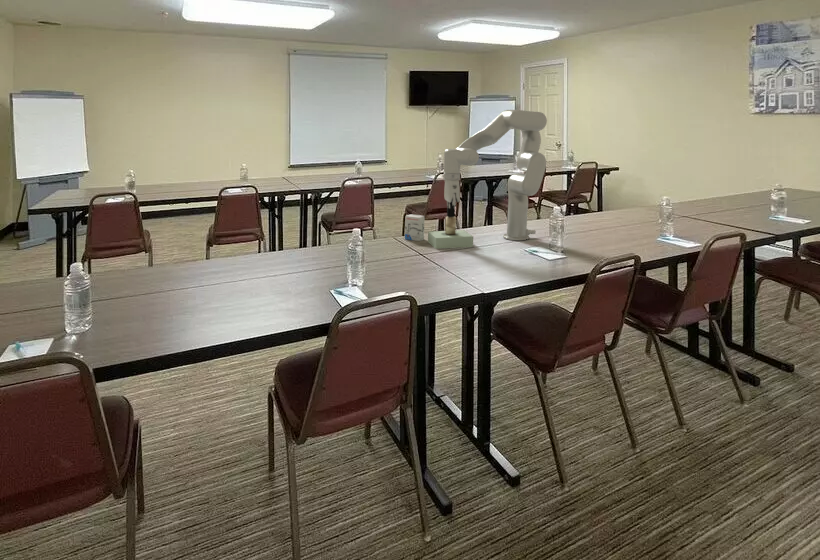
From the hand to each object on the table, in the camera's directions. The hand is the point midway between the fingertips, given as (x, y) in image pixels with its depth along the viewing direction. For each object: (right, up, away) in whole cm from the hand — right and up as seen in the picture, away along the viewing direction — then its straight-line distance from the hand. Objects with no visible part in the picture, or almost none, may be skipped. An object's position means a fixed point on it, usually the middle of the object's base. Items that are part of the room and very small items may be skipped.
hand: (450, 216), depth 255 cm
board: (0, -13, +4) cm, 13 cm away
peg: (0, -12, +4) cm, 12 cm away
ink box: (-17, -10, +14) cm, 24 cm away
